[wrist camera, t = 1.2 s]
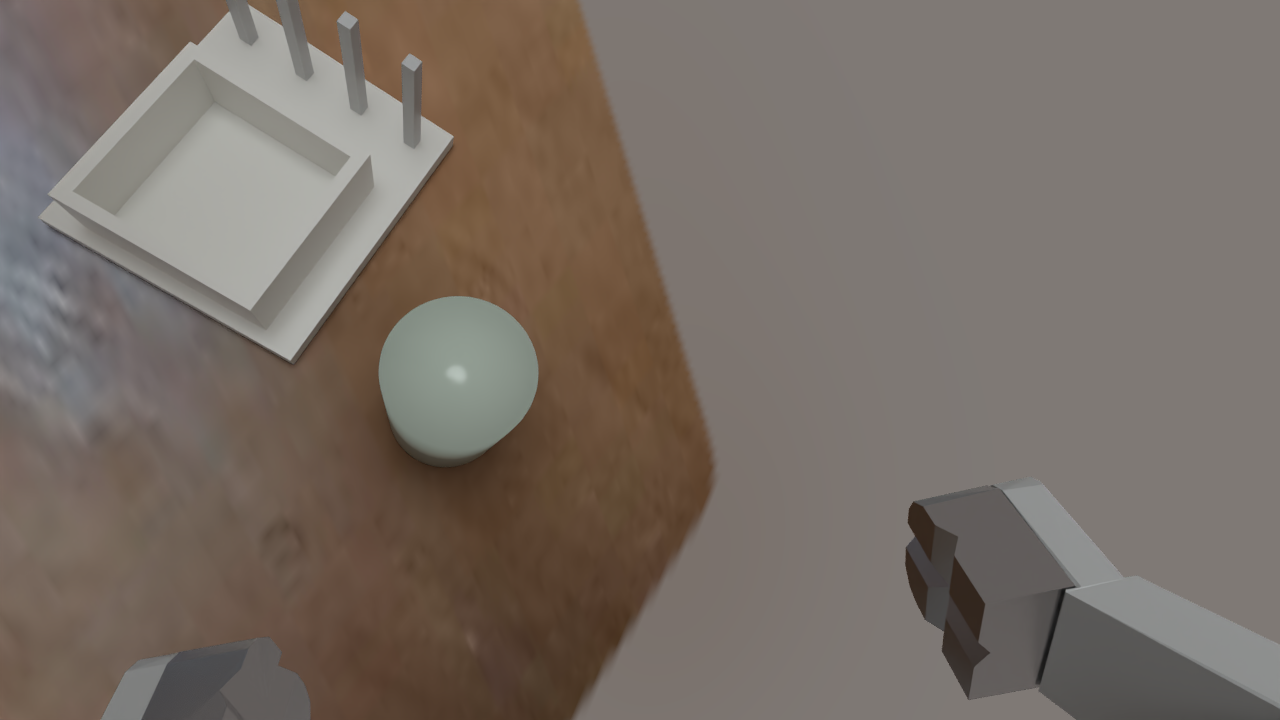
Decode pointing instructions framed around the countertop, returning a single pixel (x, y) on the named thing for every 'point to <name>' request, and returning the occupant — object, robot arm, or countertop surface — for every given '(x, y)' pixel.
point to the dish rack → (254, 176)
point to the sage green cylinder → (456, 379)
